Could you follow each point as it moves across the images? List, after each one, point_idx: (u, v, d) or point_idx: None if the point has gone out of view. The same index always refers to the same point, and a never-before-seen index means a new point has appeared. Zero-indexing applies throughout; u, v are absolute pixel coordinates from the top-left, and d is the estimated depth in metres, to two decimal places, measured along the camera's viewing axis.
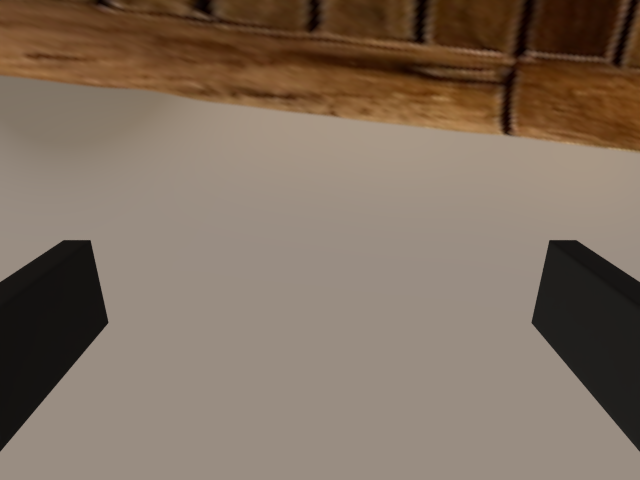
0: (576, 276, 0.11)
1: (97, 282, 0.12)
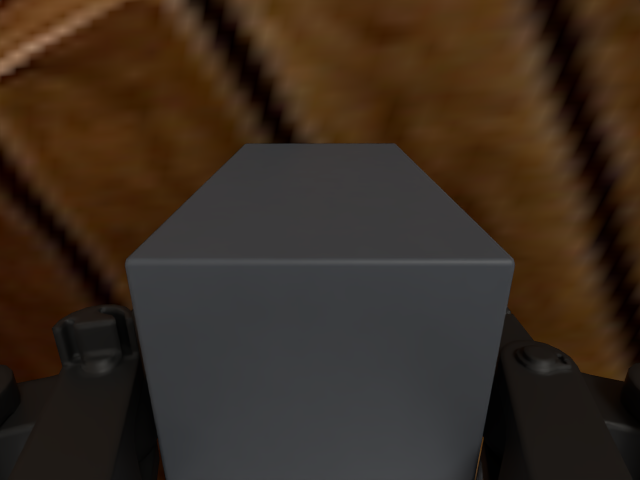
0: None
1: None
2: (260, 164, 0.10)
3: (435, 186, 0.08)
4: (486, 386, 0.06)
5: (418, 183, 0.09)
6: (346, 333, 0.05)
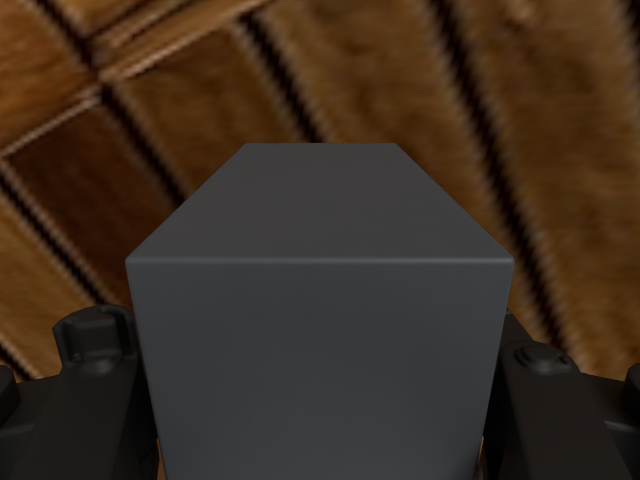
0: None
1: None
2: (260, 163, 0.10)
3: (435, 185, 0.08)
4: (486, 385, 0.06)
5: (418, 182, 0.09)
6: (347, 331, 0.05)
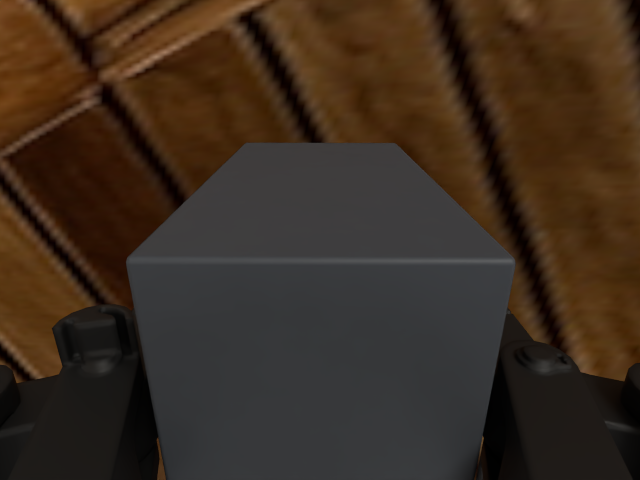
0: None
1: None
2: (260, 163, 0.10)
3: (436, 186, 0.08)
4: (486, 385, 0.06)
5: (419, 183, 0.09)
6: (348, 333, 0.05)
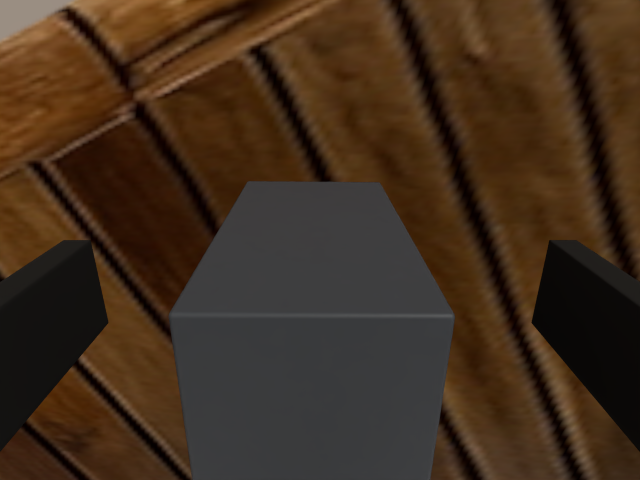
0: (576, 276, 0.11)
1: (98, 282, 0.12)
2: (262, 209, 0.12)
3: (407, 237, 0.10)
4: (437, 404, 0.08)
5: (393, 233, 0.10)
6: (332, 366, 0.07)
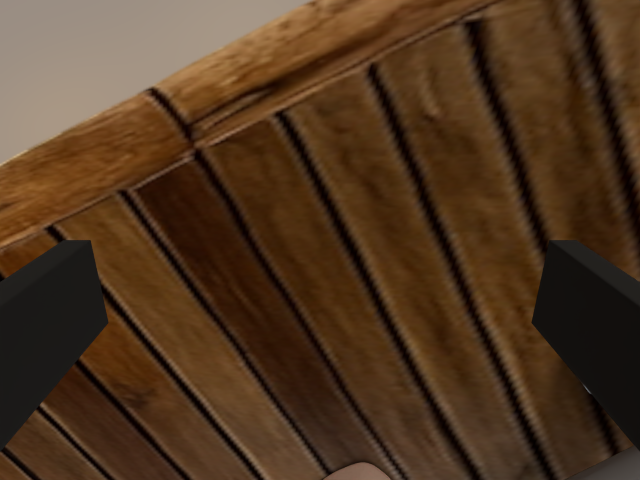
0: (576, 276, 0.11)
1: (97, 282, 0.12)
2: None
3: None
4: None
5: None
6: None
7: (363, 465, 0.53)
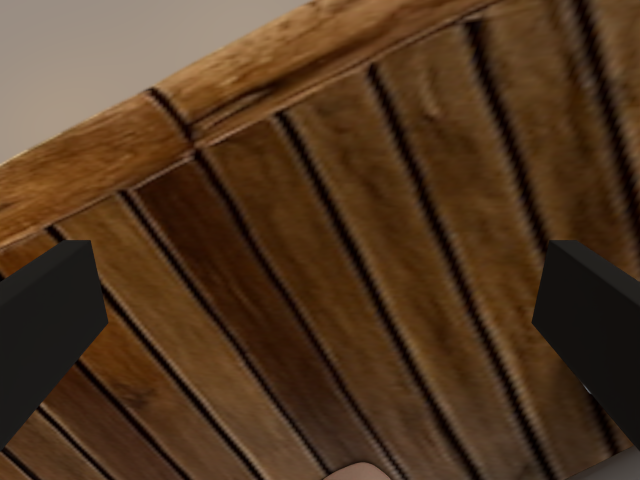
0: (576, 276, 0.11)
1: (97, 282, 0.12)
2: None
3: None
4: None
5: None
6: None
7: (363, 465, 0.53)
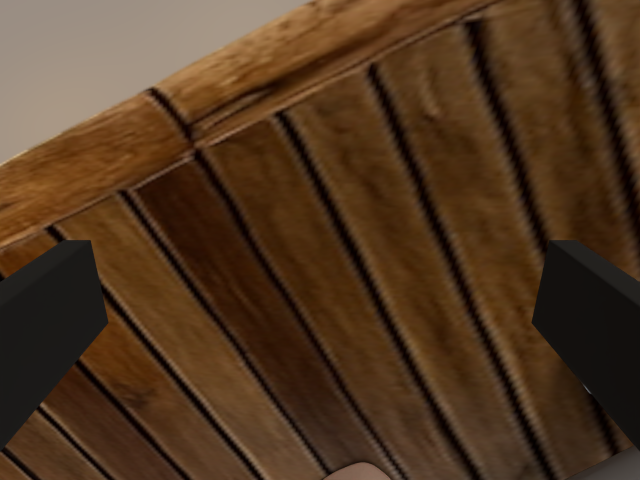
0: (576, 276, 0.11)
1: (97, 282, 0.12)
2: None
3: None
4: None
5: None
6: None
7: (363, 465, 0.53)
